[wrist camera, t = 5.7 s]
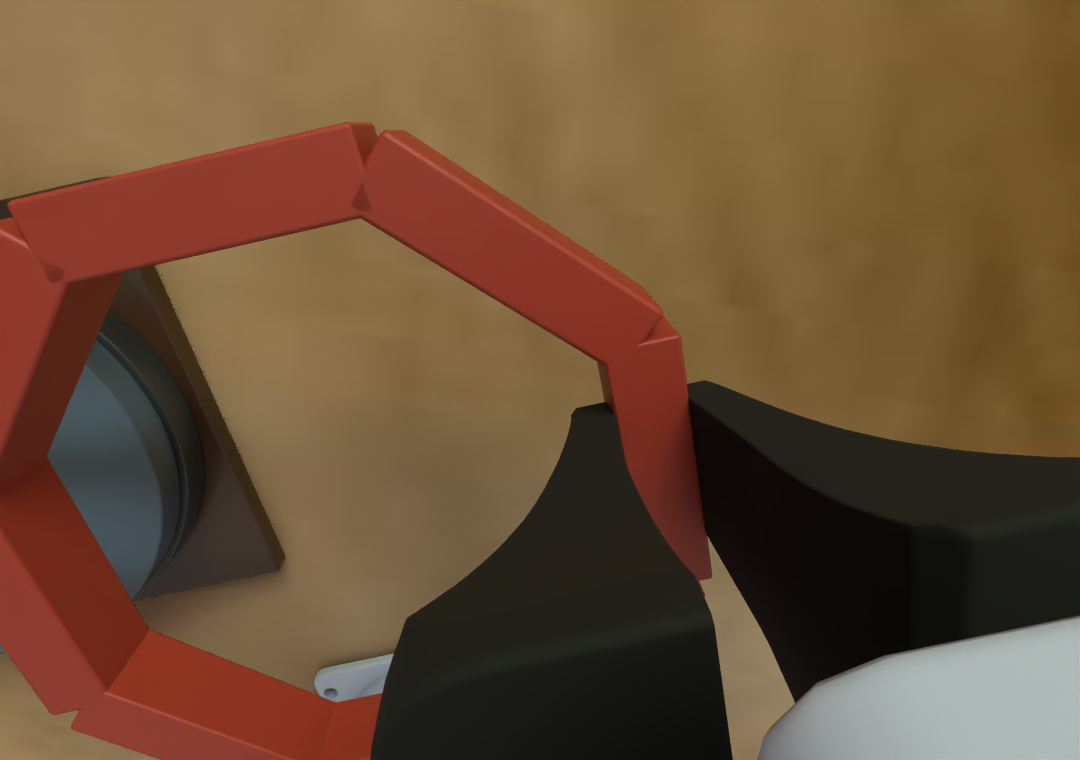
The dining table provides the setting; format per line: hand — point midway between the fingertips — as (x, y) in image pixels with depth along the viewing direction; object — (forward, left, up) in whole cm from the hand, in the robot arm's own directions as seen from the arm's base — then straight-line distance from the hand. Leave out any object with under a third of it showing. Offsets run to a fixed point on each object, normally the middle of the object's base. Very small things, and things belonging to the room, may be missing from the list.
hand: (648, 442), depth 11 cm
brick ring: (0, +6, 0) cm, 6 cm away
